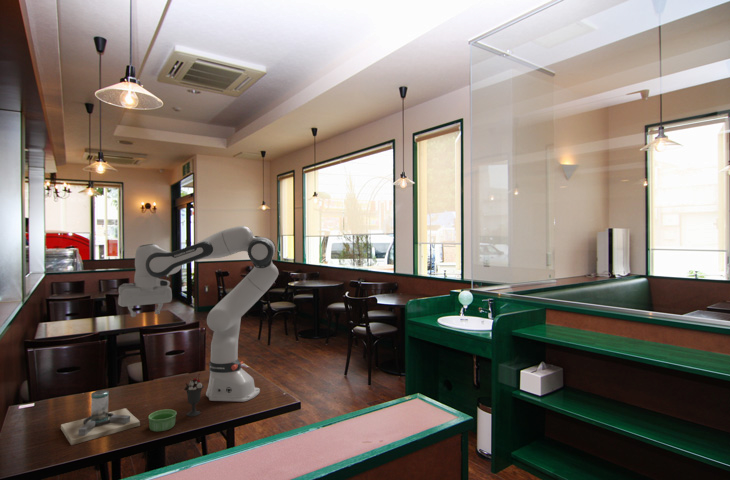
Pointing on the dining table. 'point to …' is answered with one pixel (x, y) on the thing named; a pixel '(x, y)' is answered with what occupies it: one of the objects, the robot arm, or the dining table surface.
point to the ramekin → (162, 420)
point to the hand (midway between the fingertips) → (145, 315)
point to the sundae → (194, 395)
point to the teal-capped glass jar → (99, 406)
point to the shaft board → (99, 426)
